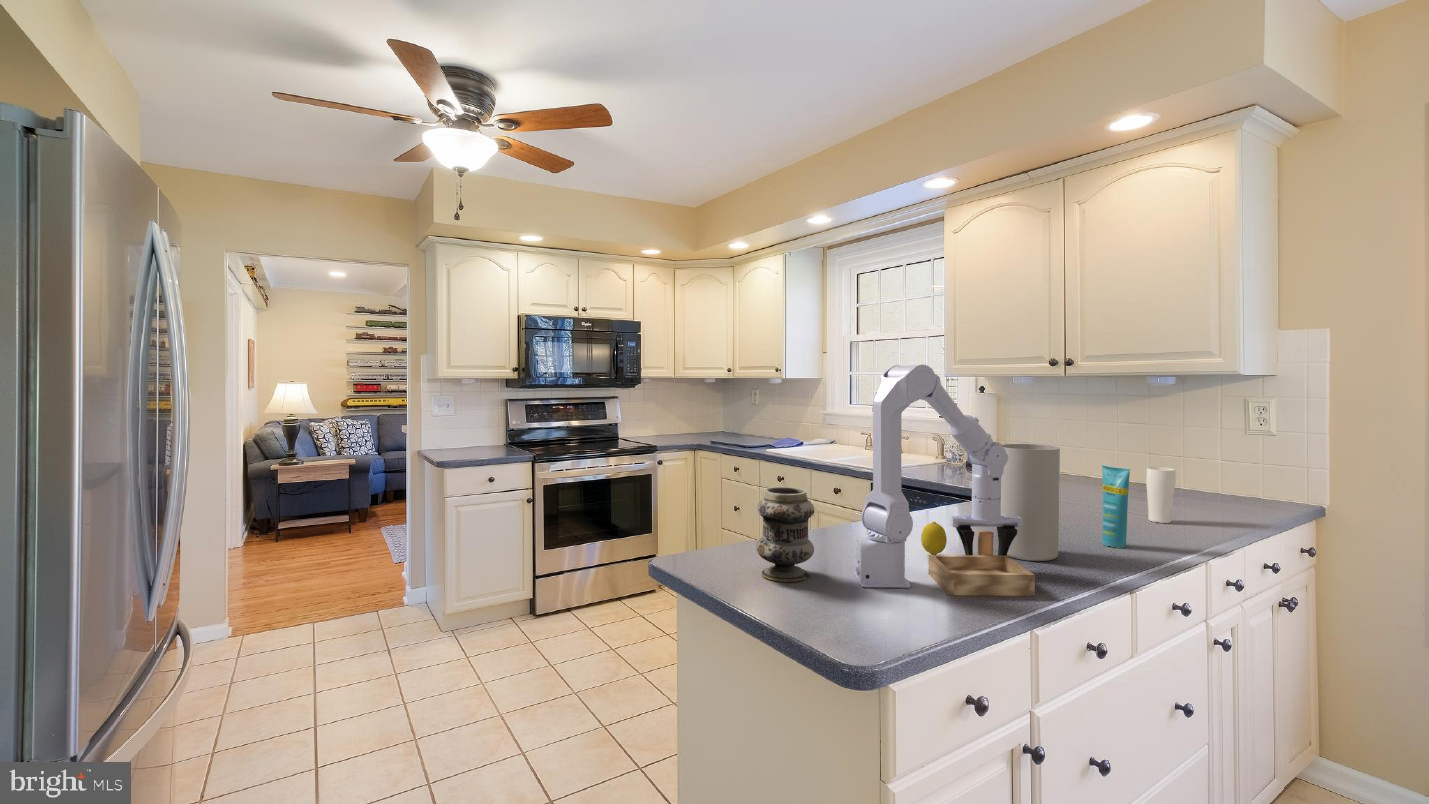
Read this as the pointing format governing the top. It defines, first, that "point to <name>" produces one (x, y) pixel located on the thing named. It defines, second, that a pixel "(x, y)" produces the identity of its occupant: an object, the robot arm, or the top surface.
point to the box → (981, 575)
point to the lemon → (933, 538)
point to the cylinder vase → (1032, 499)
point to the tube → (1115, 505)
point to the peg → (985, 543)
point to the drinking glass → (1160, 493)
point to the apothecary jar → (785, 533)
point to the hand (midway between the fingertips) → (985, 560)
